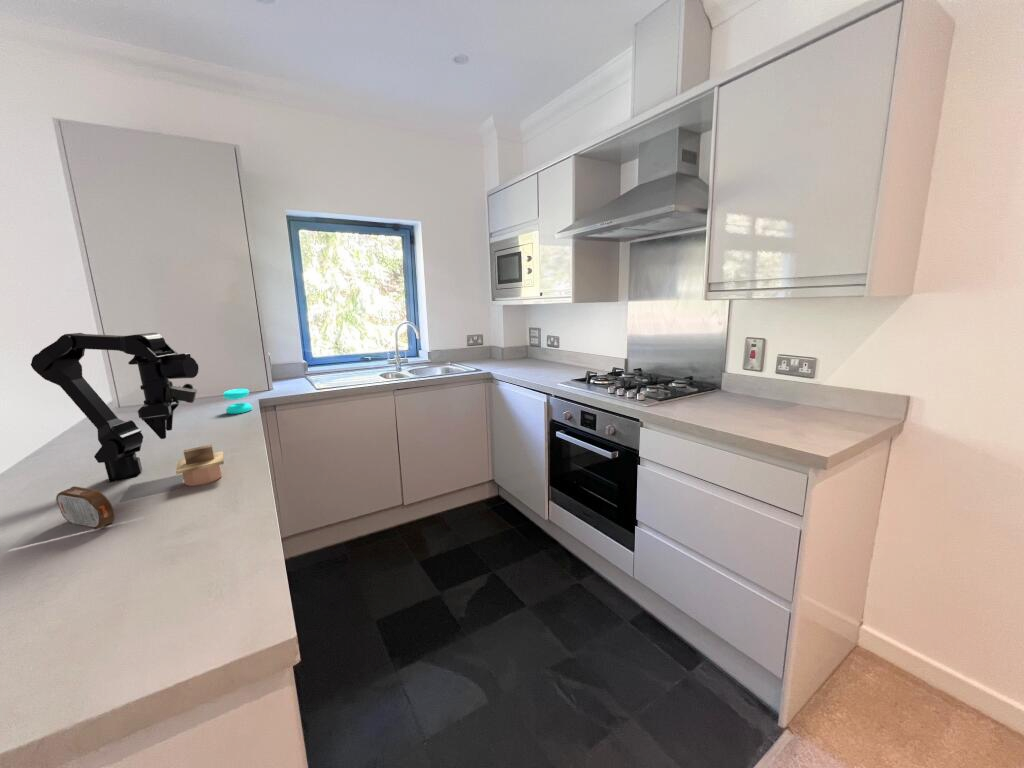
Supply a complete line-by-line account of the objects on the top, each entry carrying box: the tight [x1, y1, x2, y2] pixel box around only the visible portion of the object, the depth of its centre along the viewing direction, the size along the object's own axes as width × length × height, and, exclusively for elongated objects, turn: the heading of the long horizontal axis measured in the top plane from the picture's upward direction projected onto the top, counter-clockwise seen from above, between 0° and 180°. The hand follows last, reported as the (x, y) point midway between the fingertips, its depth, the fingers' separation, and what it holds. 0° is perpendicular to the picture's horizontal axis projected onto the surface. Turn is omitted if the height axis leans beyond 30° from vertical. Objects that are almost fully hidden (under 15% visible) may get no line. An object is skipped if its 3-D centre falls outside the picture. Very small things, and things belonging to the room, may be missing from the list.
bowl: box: [182, 464, 223, 487], centre depth 114 cm, size 8×8×5 cm
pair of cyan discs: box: [222, 388, 253, 415], centre depth 191 cm, size 10×10×10 cm
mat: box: [118, 473, 184, 503], centre depth 112 cm, size 12×12×1 cm
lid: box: [175, 444, 225, 475], centre depth 113 cm, size 10×10×4 cm
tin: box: [55, 486, 116, 530], centre depth 93 cm, size 15×3×8 cm, turn 71°
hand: (166, 434), depth 119 cm, fingers open, 9 cm apart
